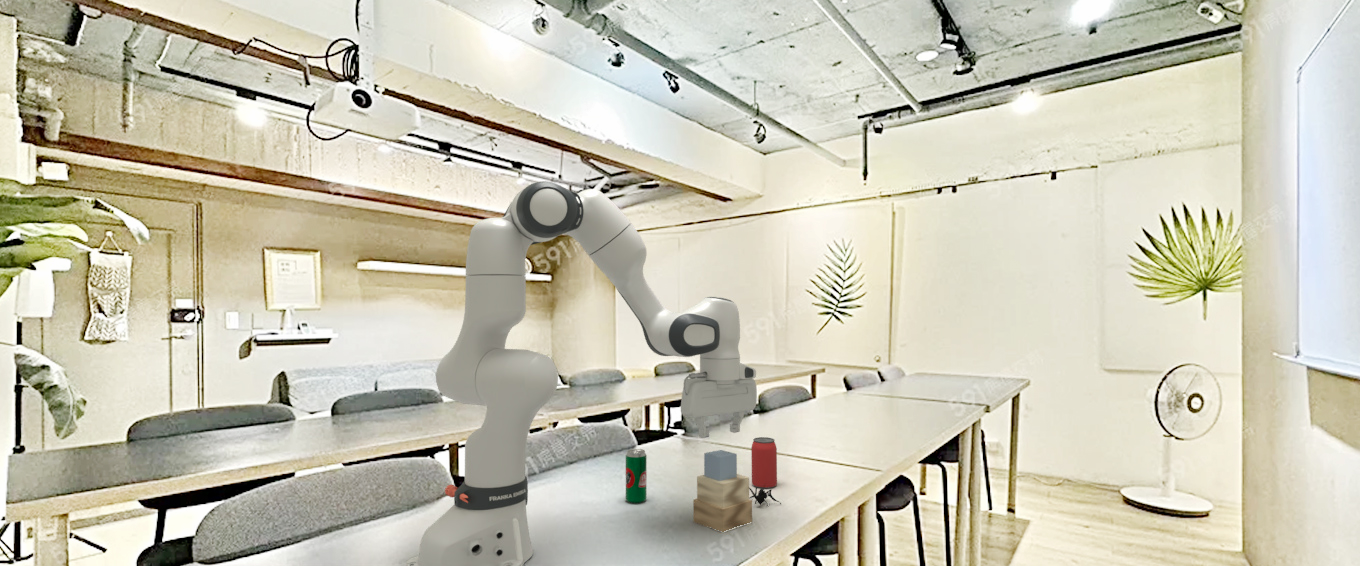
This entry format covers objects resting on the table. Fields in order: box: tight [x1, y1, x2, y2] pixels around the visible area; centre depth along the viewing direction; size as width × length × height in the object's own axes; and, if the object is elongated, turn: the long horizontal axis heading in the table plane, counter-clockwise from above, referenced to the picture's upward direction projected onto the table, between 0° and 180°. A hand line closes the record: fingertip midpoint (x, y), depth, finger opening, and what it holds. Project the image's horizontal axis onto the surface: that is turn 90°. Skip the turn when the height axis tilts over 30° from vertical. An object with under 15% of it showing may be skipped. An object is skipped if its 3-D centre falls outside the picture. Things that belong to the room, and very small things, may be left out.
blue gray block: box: [703, 449, 738, 481], centre depth 135 cm, size 5×5×5 cm
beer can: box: [751, 436, 778, 489], centre depth 162 cm, size 7×7×12 cm
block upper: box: [696, 473, 750, 508], centre depth 134 cm, size 8×8×5 cm
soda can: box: [625, 448, 648, 504], centre depth 149 cm, size 5×5×12 cm
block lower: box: [692, 498, 753, 532], centre depth 134 cm, size 9×9×5 cm
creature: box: [749, 482, 782, 507], centre depth 147 cm, size 8×5×8 cm
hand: (719, 434), depth 135 cm, fingers open, 8 cm apart
